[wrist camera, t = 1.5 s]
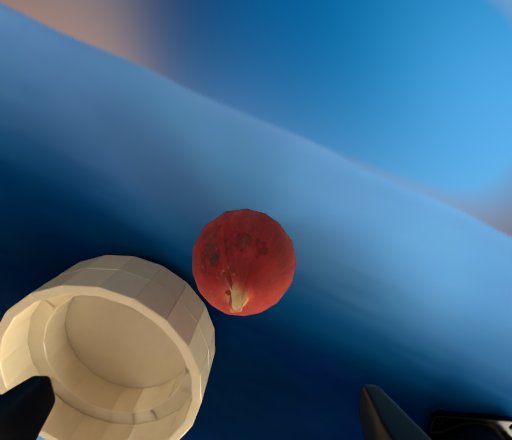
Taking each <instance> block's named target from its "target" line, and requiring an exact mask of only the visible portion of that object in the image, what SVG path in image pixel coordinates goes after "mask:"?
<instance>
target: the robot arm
mask: <svg viewBox="0 0 512 440" xmlns="http://www.w3.org/2000/svg"><path fill="white" fill-rule="evenodd" d="M54 404H55V393H54V389H53V385H52V382H51V378H50V377H49V376H39V375H36V376H32V377H30V378H28V379H27V380H25V381H23V382H22V383H20V384H18V385H17V386H15V387H13V388H12V389H10V390H8V391H7V392H5V393H3V394H2V395H0V440H36V439H37V437H38V435H39V433H40V431H41V429H42V428H43V426H44V424H45V422H46V420H47V418H48V416H49V414H50V412H51V410H52V409H53V406H54ZM359 416H360V421H361V425H362V430H363V434H364V439H365V440H512V417H505V416H490V415H476V414H461V413H446V412H434V413H432V414H431V416H430V419H429V424H428V428H427V432H426V434H425V433H424V432H423V431H422V430H421V429H420V428H419V427H418V426H417V425H416V423H415V422H414V421H413V420H412V419H411V418H410V417H409V416H408V415H407V414H406V413H405V412H404V411H403V410H402V409H401V408H400V407H399V406H398V405H397V404H396V403H395V402H394V401H393V400H392V399H391V398H390V397H389V396H388V395H387V394H386V393H385V392H384V391H383V390H382V389H381V388H380V387H379V386H377V385H367V384H364V385H362V387H361V393H360V400H359Z"/></svg>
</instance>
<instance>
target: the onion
mask: <svg viewBox="0 0 512 440" xmlns="http://www.w3.org/2000/svg"><path fill="white" fill-rule="evenodd" d="M295 266H296V257H295V253H294V248H293V244H292V241H291V239H290V238H289V236H288V235H287V234H286V232H285V231H284V230H283V228H282V227H281V225H280V224H279V223H278V222H276V221H275V220H274V219H272V218H271V217H269V216H268V215H267V214H265V213H261V212H257V211H253V210H249V209H241V210H234V211H227V212H225V213H223V214H222V215H220V216H219V217H217V218H216V219H214V220H213V221H211V222H210V223H208V224H207V225H205V227H204V229H203V230H202V232H201V234H200V236H199V238H198V240H197V241H196V243H195V246H194V248H193V272H192V273H193V276H194V278H195V281H196V284H197V287H198V289H199V291H200V293H201V294H202V295H203V297H204V298H205V299H206V300H207V301H208V302H209V303H210V304H211V305H212V306H214V307H215V308H217V309H219V310H221V311H222V312H224V313H226V314H230V315H239V316H246V315H251V314H256V313H260V312H262V311H264V310H266V309H268V308H269V307H271V306H273V305H274V304H276V303H277V302H278V301H279V300H280V298H281V297H282V296H283V294H284V293H285V292H286V290H287V289H288V288H289V286H290V285H291V283H292V279H293V275H294V271H295Z"/></svg>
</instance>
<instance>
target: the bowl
mask: <svg viewBox="0 0 512 440" xmlns="http://www.w3.org/2000/svg"><path fill="white" fill-rule="evenodd" d="M214 354H215V330H214V327H213V324H212V321H211V319H210V316H209V314H208V311H207V308H206V306H205V304H204V303H203V302H202V300H201V299H200V298H199V297H198V295H197V294H196V293H195V292H194V290H193V289H192V288H191V287H190V285H189V284H188V283H187V282H185V281H184V280H183V279H181V278H180V277H178V276H177V275H175V274H174V273H173V272H171V271H170V270H168V269H167V268H165V267H164V266H161V265H158V264H156V263H153V262H150V261H147V260H144V259H141V258H138V257H134V256H116V255H104V256H100V257H97V258H93V259H89V260H86V261H82V262H79V263H77V264H76V265H74V266H73V267H71V268H69V269H68V270H66V271H65V272H63V273H62V274H60V275H59V276H57V277H55V278H54V279H52V280H51V281H49V282H48V283H46V284H44V285H43V286H41V287H40V288H38V289H37V290H35V291H34V292H32V293H30V294H29V295H28V296H26V297H25V298H24V299H22V300H21V301H19V302H18V303H17V304H15V305H14V306H12V307H11V308H10V309H8V311H7V312H6V313H5V315H4V317H3V319H2V320H1V322H0V393H1V394H3V393H5V392H7V391H8V390H10V389H12V388H13V387H15V386H17V385H18V384H20V383H22V382H23V381H25V380H27V379H28V378H30V377H32V376H36V375H39V376H49V377H50V378H51V382H52V385H53V389H54V393H55V404H54V406H53V409H52V410H51V412H50V414H49V416H48V418H47V420H46V422H45V424H44V426H43V428H42V429H41V431H40V433H39V436H41V437H43V438H44V439H46V440H179V439H180V438H181V437H182V436H183V435H184V434H185V433H186V432H187V431H188V430H189V429H190V428H191V427H192V425H193V423H194V420H195V418H196V415H197V413H198V410H199V407H200V405H201V402H202V398H203V395H204V391H205V387H206V384H207V380H208V376H209V372H210V369H211V365H212V361H213V358H214Z"/></svg>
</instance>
